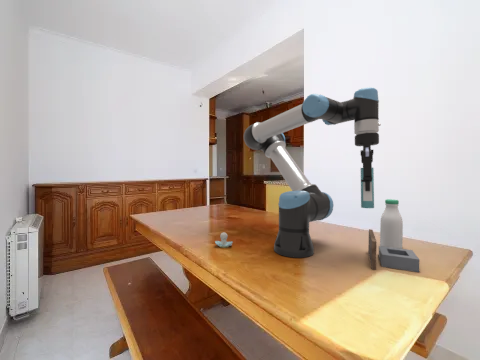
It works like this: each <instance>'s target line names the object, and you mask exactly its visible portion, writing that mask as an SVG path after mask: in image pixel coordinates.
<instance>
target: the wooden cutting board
mask: <svg viewBox="0 0 480 360" xmlns="http://www.w3.org/2000/svg"><path fill="white" fill-rule="evenodd" d="M377 243H378V242H377V239H376V236H375V233H374V230H373V229H368V247H367V248H368V249H367V250H368V256H369V263H370V268H371V269H372V270H373V271H376V270H377Z"/></svg>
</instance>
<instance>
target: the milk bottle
mask: <svg viewBox="0 0 480 360" xmlns="http://www.w3.org/2000/svg"><path fill="white" fill-rule="evenodd" d="M384 204H385V208H384V211H383V213H382V215H381V216H380V227H379V229H380V230H379V246H383V247H391V248H399V249H403V234H404V232H403V231H404V230H403V229H404V227H403V226H404V224H403V221H404V220H403V217H402V215H401V213H400V211H399V200H398V199H391V198H390V199H388V198H387V199H385V200H384Z"/></svg>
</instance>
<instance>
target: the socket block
mask: <svg viewBox="0 0 480 360" xmlns="http://www.w3.org/2000/svg"><path fill="white" fill-rule="evenodd" d="M378 259H379V262H380V265H381V267H383V268H387V269H388V268H389V269H396V270H403V271H409V272H415V273H420V258H419V257H418V256H417V254H416V253H415V251H414V250H413V249H408V248H407V249H405V248H402V249H399V248H391V247H383V246H380V245H379V246H378Z"/></svg>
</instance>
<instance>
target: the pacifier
mask: <svg viewBox="0 0 480 360" xmlns="http://www.w3.org/2000/svg"><path fill="white" fill-rule="evenodd" d="M219 236H220V237H219V238H220V240H221V241H219V240H215V241H214V242H215V245H216V246H218V247H219V248H223V249H224V248H225V249H226V248H229V247H230V246H232V245H233V243H234V242H233V241H231V240H230V241H227V239H228V234H227V233H226V232H225V231H224V232H221V233H220V235H219Z"/></svg>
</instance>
